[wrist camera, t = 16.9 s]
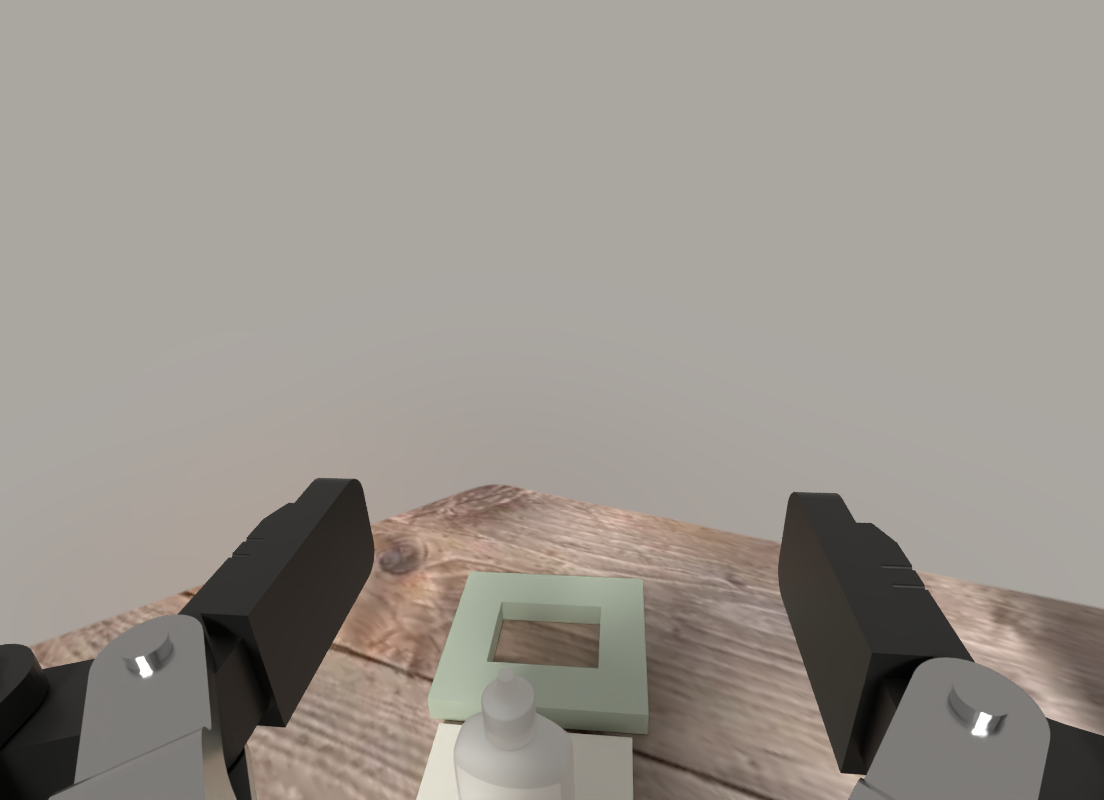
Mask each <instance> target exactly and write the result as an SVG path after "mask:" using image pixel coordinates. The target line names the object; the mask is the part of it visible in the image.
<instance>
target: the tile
mask: <svg viewBox="0 0 1104 800" xmlns="http://www.w3.org/2000/svg"><path fill="white" fill-rule="evenodd" d="M461 727H462V725H455V724H441V723H439V726H438V730H437V733H436V736H435V740H434V743H433V746H432V750H431V753H430V756H429V760H428V763H427V766H426V769H425V773H424V776H423V779H422V783H421V786H420V789H419V793H418V796H417V799H416V800H459V794H458V787H457V781H456V775H455V767H454V747H455V743H456V740H457V737H458V734H459V732H460V729H461ZM568 735H569V736H570V738H571V741H572V746H573V758H574V781H575V800H633V754H632V738H630V737H617V736H603V735H590V734H576V733H568Z"/></svg>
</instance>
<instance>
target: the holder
mask: <svg viewBox="0 0 1104 800" xmlns="http://www.w3.org/2000/svg"><path fill="white" fill-rule="evenodd" d="M503 619H507V620H526V621H545V622H563V623H582V624H600V640H599V663H598V668H584V667H567V666H551V665H535V664H519V663H503V662H493V660H494V656H495V651H496V647H497V643H498V639H499V635H500V630H501V626H502V622H503ZM505 668H508V669H511V670H512V671H513V673H514V675H515V676H519V677H522V678H524V679H525V680H526V681H528V682H529V683H530V684H531V686H532V687H533V689H534V693H535V703H536V713H538V714H540V715H542V716H544V717H546V718H548V719H549V720H551V721H553V722H554V723H556V724H557V725H558V726H560V727H561V728H565V729H579V730H592V731H606V732H620V733H633V734H647V735H648V719H649V710H648V688H647V666H646V644H645V621H644V599H643V579H631V578H608V577H586V576H563V575H541V574H519V573H496V572H474V571H470V574H469V577H468V579H467V582H466V585H465V588H464V591H463V594H462V597H461V600H460V603H459V606H458V609H457V612H456V615H455V618H454V621H453V624H452V627H451V630H450V633H449V636H448V639H447V642H446V645H445V648H444V651H443V654H442V657H441V660H440V663H439V666H438V669H437V672H436V675H435V677H434V680H433V683H432V686H431V689H430V692H429V695H428V698H427V702H428V707H429V713H430V718H431V719H442V720H456V721H465V720H466V719H467V718H469V717H471V716H472V715H474V714H477V713H480V712H482V705H481V699H482V694H483V692H484V690H485V689H486V687H487V686H488V685H489V684H490V683H491V682H492V681H493V680H495V679H497V678H498V673H499V672H500V671H501V670H502V669H505Z"/></svg>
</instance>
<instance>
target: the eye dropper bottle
mask: <svg viewBox="0 0 1104 800" xmlns="http://www.w3.org/2000/svg"><path fill="white" fill-rule="evenodd" d="M481 705H482V712H480V713H477V714H474V715H472V716H471V717H469V718H467V719H466V720H465V722H464V723H463V725H462V727H461V729H460V732H459V734H458V737H457V740H456V743H455V747H454V767H455V775H456V781H457V787H458V794H459V800H575V781H574V758H573V746H572V741H571V738H570V736H569V735H568V733H567V732H566V731H565V730H564V729H562V728H561V727H560V726H558V725H557V724H556V723H554V722H553V721H551V720H549V719H548V718H546V717H544V716H542V715H540V714H538V713H536V703H535V693H534V689H533V687H532V686H531V684H530V683H529V682H528V681H526V680H525V679H524V678H522V677H519V676H515V675H514V673H513V671H512V670H511V669H508V668H505V669H502V670H501V671H500V672H499V673H498V678H497V679H495V680H493V681H492V682H491V683H490V684H489V685H488V686H487V687H486V689H485V690H484V692H483V694H482V699H481Z"/></svg>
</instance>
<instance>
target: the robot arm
mask: <svg viewBox="0 0 1104 800" xmlns="http://www.w3.org/2000/svg"><path fill="white" fill-rule="evenodd" d="M373 561H374V541H373V536H372V531H371V526H370V522H369V517H368V511H367V507H366V502H365V497H364V492H363V488H362V486H361V483H360V482H359V481H358V480H357V479H337V478H318V479H315V480H314V481H313V482H312V483H311V484H310V485H309V487H308V488H307V489H306V490H305V491H304V492H303V494H302V495H301V496H300V497H299V498H298V500H297V501H296V502H295V503H288V504H286V505H285V506H283V507H281V508H280V509H278V510H277V511H275V512H274V513H272V514H270V515H269V516H267V517H266V518H264V519H263V520H262V521H261V522H260V523H259V525H258V526H257V527H256V528H255V529H254V530H253V531H252V532H251V534H250V535H249V536H248V537H247V540H246V542H242V543H241V545H240V546H239V547H238V548H237V549H236V550H235V551H234V552H233V556H232V558H228V559H227V560H226V561H225V562H224V564H223V565H222V566H221V567H220V568H219V569H218V570H217V571H216V573H215V574H214V575H213V576H212V577H211V578H210V579H209V580H208V581H207V582H206V583H205V585H204V586H203V587H202V588H201V589H200V590H199V591H198V592H197V593H196V595H195V596H194V597H193V598H192V599H191V600H190V601H189V602H188V603H187V605H186V606H185V607H184V608H183V609H182V610H181V611H180V612H179V613H178V615H167V616H162V617H157V618H154V619H151V620H148V621H146V622H143V623H141V624H138V625H136V626H134V627H132V628H130V629H129V630H127V631H125V632H124V633H122V634H121V635H119V636H118V637H116V638H115V639H114V640H112V641H111V642H110V643H109V644H108V645H107V646H106V647H105V648H104V649H103V650H102V651H101V652H100V653H99V654H98V656H97V657H96V658H95V659H92V660H87V661H82V662H76V663H71V664H66V665H61V666H56V667H51V668H46V669H42V668H41V666H40V665H39V663H38V661H37V659H36V657H35V656H34V654H33V652H32V651H31V649H30V648H28V647H27V646H24V645H19V644H5V645H0V800H257V794H256V787H255V780H254V774H253V767H252V760H251V754H250V750H249V747H248V745H247V741H248V739H249V738H250V736H251V734H252V733H253V731H254V729H255V728H256V726H257V725H260V726H272V727H286V725H287V723H288V722H289V720H290V718H291V716H292V714H293V713H294V711H295V709H296V707H297V705H298V704H299V702H300V700H301V698H302V696H303V695H304V693H305V691H306V689H307V687H308V686H309V684H310V682H311V680H312V678H313V677H314V675H315V673H316V671H317V669H318V668H319V666H320V664H321V662H322V660H323V658H324V657H325V655H326V653H327V651H328V649H329V648H330V646H331V644H332V642H333V640H334V639H335V637H336V635H337V633H338V631H339V630H340V628H341V626H342V624H343V622H344V621H345V619H346V617H347V615H348V613H349V612H350V610H351V608H352V606H353V604H354V603H355V601H356V599H357V597H358V595H359V594H360V592H361V590H362V588H363V586H364V585H365V583H366V581H367V579H368V577H369V575H370V573H371V570H372V566H373ZM778 577H779V586H780V592H781V596H782V599H783V602H784V605H785V608H786V611H787V614H788V617H789V620H790V623H791V626H792V629H793V632H794V635H795V638H796V641H797V644H798V647H799V650H800V653H801V656H802V659H803V662H804V665H805V668H806V671H807V674H808V677H809V680H810V683H811V686H812V689H813V692H814V695H815V698H816V701H817V704H818V707H819V710H820V713H821V716H822V719H823V722H824V725H825V728H826V731H827V734H828V737H829V740H830V743H831V746H832V749H833V752H834V755H835V758H836V761H837V764H838V767H839V770H840V773H847V774H860V775H866V777H865V779H862V778H860V779H859V781H858V782H857V784H856V785H855V787H854V789H853V791H852V793H851V795H850V797H849V799H848V800H1104V736H1102V735H1098V734H1095V733H1092V732H1089V731H1085V730H1082V729H1079V728H1075V727H1072V726H1069V725H1066V724H1063V723H1060V722H1057V721H1054V720H1051V719H1049V718H1047V717H1045V715H1044V714H1043V712H1042V711H1041V709H1040V708H1039V706H1038V705H1037V704H1036V703H1035V701H1034V700H1033V699H1032V698H1031V697H1030V696H1029V695H1028V694H1027V693H1026V692H1025V691H1024V690H1023V689H1022V688H1020V687H1019V686H1018V685H1016V684H1015V683H1014V682H1012V681H1011V680H1009V679H1008V678H1006V677H1005V676H1003V675H1001V674H1000V673H998V672H996V671H994V670H992V669H990V668H987V667H985V666H983V665H980V664H977V663H975V662H974V660H973V659H972V657H971V656H970V654H969V653H968V651H967V649H966V648H965V646H964V645H963V643H962V642H961V640H960V639H959V637H958V636H957V634H956V633H955V631H954V630H953V628H952V626H951V625H950V623H949V622H948V620H947V619H946V617H945V616H944V614H943V613H942V611H941V610H940V608H939V606H938V605H937V603H936V602H935V600H934V599H933V597H932V596H931V594H930V593H929V591H928V590H925V588H924V583H923V582H922V580H921V579H920V577H919V576H918V574H917V573H916V571H915V570H912V565H911V564H910V562H909V560H908V559H907V557H906V556H905V554H904V553H903V551H902V550H901V548H900V547H899V545H898V544H897V543H896V542H895V541H894V540H893V539H891V538H890V537H889V536H887V535H886V534H885V533H884V532H882V531H881V530H880V529H879V528H877V527H876V526H875V525H873V524H872V523H856V522H855V520H854V518H853V517H852V515H851V513H850V511H849V510H848V508H847V506H846V505H845V503H844V501H843V499H842V498H841V497H840V495H838V494H837V493H804V492H793V493H792V494H791V495H790V497H789V500H788V506H787V512H786V518H785V525H784V531H783V537H782V544H781V550H780V556H779V565H778Z"/></svg>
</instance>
